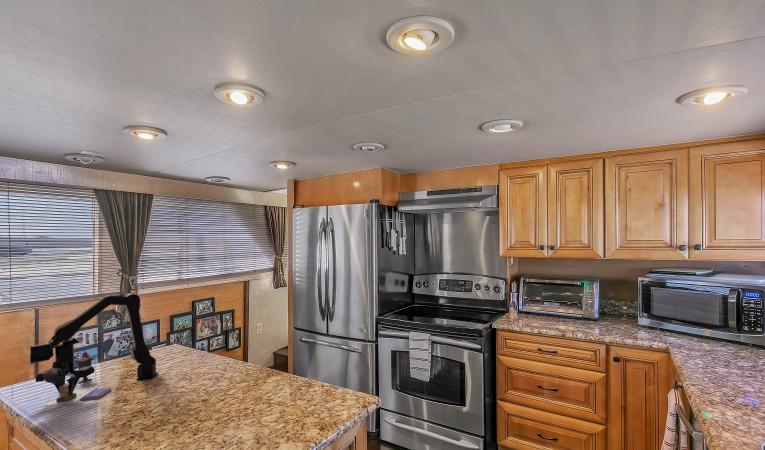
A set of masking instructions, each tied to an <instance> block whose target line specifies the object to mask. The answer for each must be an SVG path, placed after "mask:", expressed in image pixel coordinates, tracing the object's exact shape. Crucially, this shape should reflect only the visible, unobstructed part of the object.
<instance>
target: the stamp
mask: <svg viewBox="0 0 765 450" xmlns="http://www.w3.org/2000/svg"><path fill="white" fill-rule="evenodd" d="M58 394H59V397H57V398H56V401H57V403H58V402H68V401H70V400H72V399H73V398H75V397H76V393H72V394H71V395H70V394H69V383H68V382H67V383H65V384H63V385H62V386H60V387H59V392H58Z"/></svg>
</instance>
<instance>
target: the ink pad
mask: <svg viewBox="0 0 765 450" xmlns="http://www.w3.org/2000/svg"><path fill="white" fill-rule="evenodd" d="M109 391H110V392H112V387H107V388H105V387H104V388H96V389H94V390H92V391H91V392H89V393H88V394H86V395H84V396H83V397H81V398H80V399H79V400H80V401H90V400H99V399H101V398H102V397H104V396H105V395H107V394H109V393H110V392H109ZM106 393H107V394H106Z"/></svg>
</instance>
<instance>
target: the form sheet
mask: <svg viewBox="0 0 765 450" xmlns="http://www.w3.org/2000/svg"><path fill="white" fill-rule="evenodd" d="M99 387H100V385H94V386H84V387H75V389H74V391H73V393H76V397H75V398H73V399H72V400H70V401H68V402H58V403H57V401H56V399H57V398H56V399H54V400H52V401H51V402H48V403H47V404H45V405H44V406H45V407H48V406H49V407H50V406H58V405H69V404H70V405H71V404H74V403H75V402H77V401H78V400H80V398H81V397H83V396H84V395H86V394H88V393H89V392H91V391H92V390H94V389H99Z"/></svg>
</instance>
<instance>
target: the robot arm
mask: <svg viewBox="0 0 765 450" xmlns="http://www.w3.org/2000/svg"><path fill="white" fill-rule="evenodd" d="M116 305H117V306H123V307H124V308H125V311H126V313H127V316H128V319H129V326H130V331H131V336H132V341H133V345H132V347H130V348H129V352H130V358H131V359H132V360H134V361H136V363H137V364H138V365H137V369H136V373H137V374H136V375H137V376H136V377H137V378H136V380H135V381H143V380H152V379H154V377H156V376H157V375H158V374H159V372H157V366H156V365H157V364H156V363H157V362H156V361H157V359H156V358H155V357H154V356H153V355H151V352H150V350H149V348H148V346H147V344H146V343H145V338H144V334H143V328H142V321H141V316H140V309H141V297H140V296H139V295H138V294H135V293H133V292H128V293H126V294H124V295H123V294H119V295H118V294H117V295H110V294H109V295H104V296H103V297H102V298H101V299H100V300H98V301H96V302H95V304H93V305H91V306H90V307H89V308H87V309H86V310H85V311H83V312H81V314H79V315H78V316H76V317H74V318H73V319H70V320H68V321H66V322H64V323H62V324H60V325H58V326H57V327H56V328H55V330H54V332H53V336H52V337H51V338H50V339H49V340H48V342H46V343H41V344H33V345H29V348H30V353H29V362H30V363H29V364H30V365H32V364H36V363H41V362H45V361H49V360H50V359H52V357H55V360H54V361H53V362H52V367H51V368H49V369H46V370H44V371H41V372H39V373H37V374H36V376H35V382H36V383H38V382H40V383H41V382H45V383H49V384H51V385H52V384H53V386H54V387H55V388H56V390H57V391H58V393H59V387H60V386H62V385H63V384H66V382H67V383H69V394H70V395H71V394H72V393H73V391H74V389H75V388H77V387H76V386H77V385H78V384H79V383H78V382H79V381H80V379H83V378H84V377H87V378H88V377H89V376H90V375H92V374H94V373H95V367H94V366H93V365H91V366H87V367H82V368H80V369H78V365H75V360H77V359H78V358H77V356H76V355H75V346H74V345H76V344H80V340H79V339H76V337H75V335H76V333H78V331H79V330H81V328H82V327H83V326H84V325H85V324H86V323H88V322H89V321H90V320H92V319H93V318H95V317H96V316H97V315H98V314H100V313H101V312H104V310H105V309H107V308H108V307H109V306H116ZM73 336H74V337H73ZM54 351H55V352H54ZM54 353H55V355H54ZM66 377H69V378H68V379H66Z"/></svg>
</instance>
